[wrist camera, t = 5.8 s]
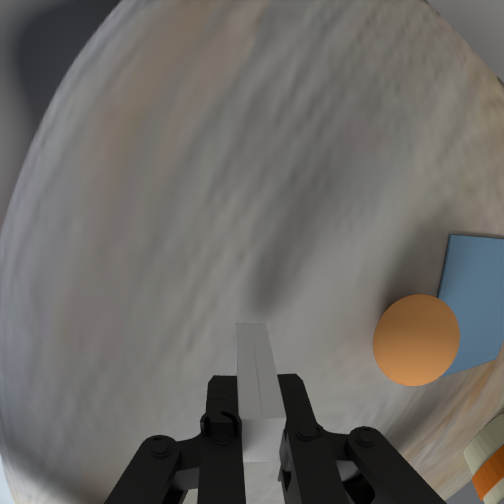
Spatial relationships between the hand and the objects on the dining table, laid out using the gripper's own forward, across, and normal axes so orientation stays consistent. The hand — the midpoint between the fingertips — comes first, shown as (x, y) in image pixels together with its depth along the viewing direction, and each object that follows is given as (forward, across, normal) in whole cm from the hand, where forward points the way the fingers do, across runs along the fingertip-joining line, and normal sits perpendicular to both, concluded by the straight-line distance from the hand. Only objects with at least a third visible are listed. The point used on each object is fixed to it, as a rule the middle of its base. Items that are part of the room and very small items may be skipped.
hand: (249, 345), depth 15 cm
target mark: (+2, -19, 0) cm, 19 cm away
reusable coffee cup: (+2, -36, +23) cm, 43 cm away
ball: (-1, -10, 0) cm, 10 cm away
